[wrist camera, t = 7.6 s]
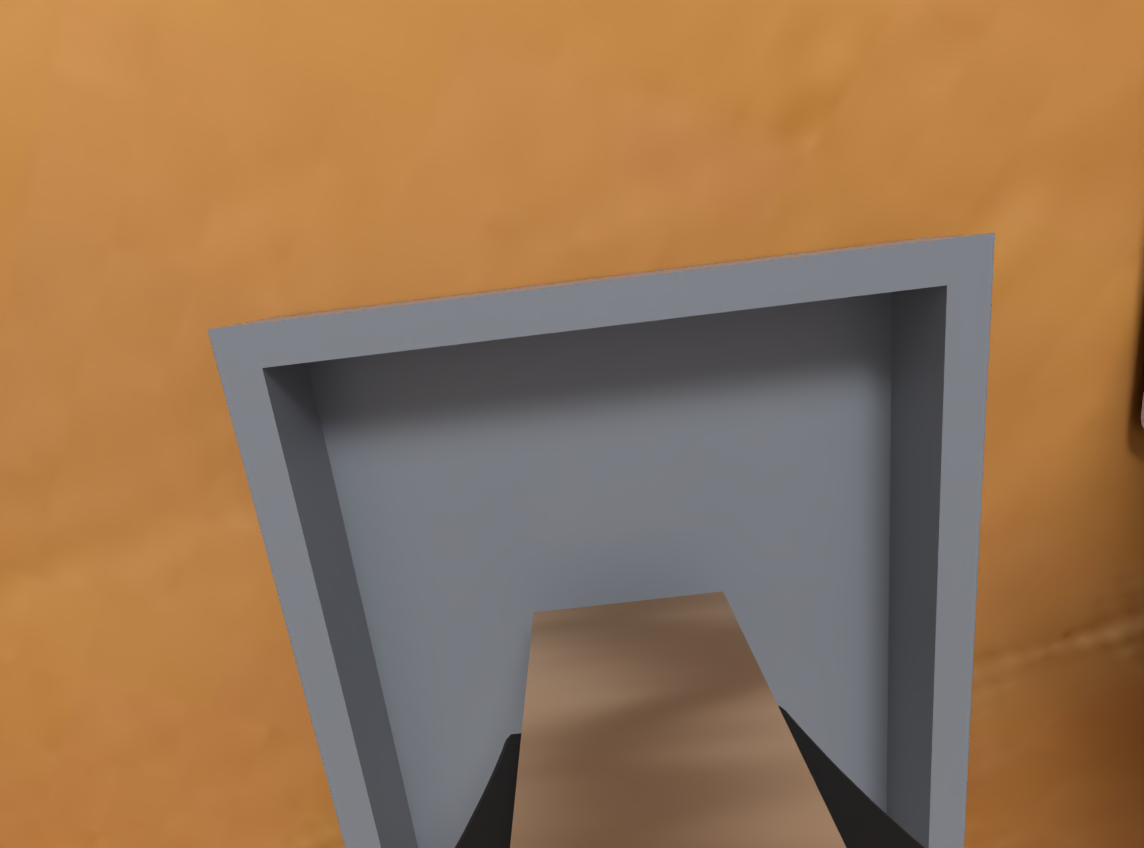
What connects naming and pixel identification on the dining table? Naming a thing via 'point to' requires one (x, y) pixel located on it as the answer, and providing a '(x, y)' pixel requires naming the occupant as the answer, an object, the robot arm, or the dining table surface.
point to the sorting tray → (628, 506)
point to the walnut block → (657, 735)
